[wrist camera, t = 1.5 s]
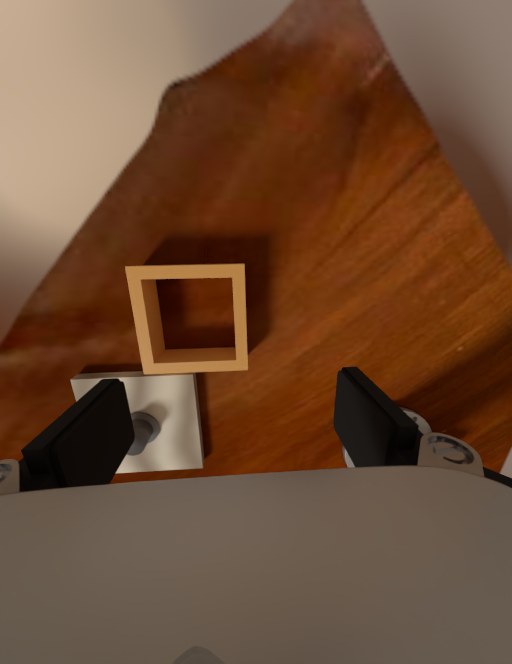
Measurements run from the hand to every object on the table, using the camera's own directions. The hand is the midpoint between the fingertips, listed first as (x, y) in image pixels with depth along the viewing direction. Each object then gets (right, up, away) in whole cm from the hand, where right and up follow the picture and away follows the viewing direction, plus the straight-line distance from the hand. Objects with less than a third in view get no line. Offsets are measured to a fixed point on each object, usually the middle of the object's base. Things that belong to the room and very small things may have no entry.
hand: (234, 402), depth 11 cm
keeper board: (-13, -8, +21) cm, 26 cm away
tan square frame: (-6, +5, +17) cm, 19 cm away
